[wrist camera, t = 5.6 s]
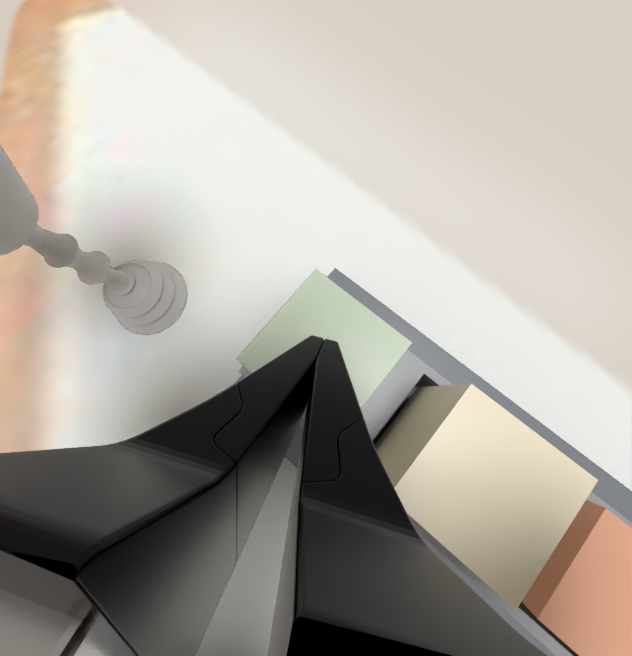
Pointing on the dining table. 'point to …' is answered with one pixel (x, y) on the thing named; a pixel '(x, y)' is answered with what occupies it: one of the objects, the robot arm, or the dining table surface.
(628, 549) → the peach rectangular block
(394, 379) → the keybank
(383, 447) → the block
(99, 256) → the chalice
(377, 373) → the key sage
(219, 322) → the dining table surface
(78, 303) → the dining table surface
